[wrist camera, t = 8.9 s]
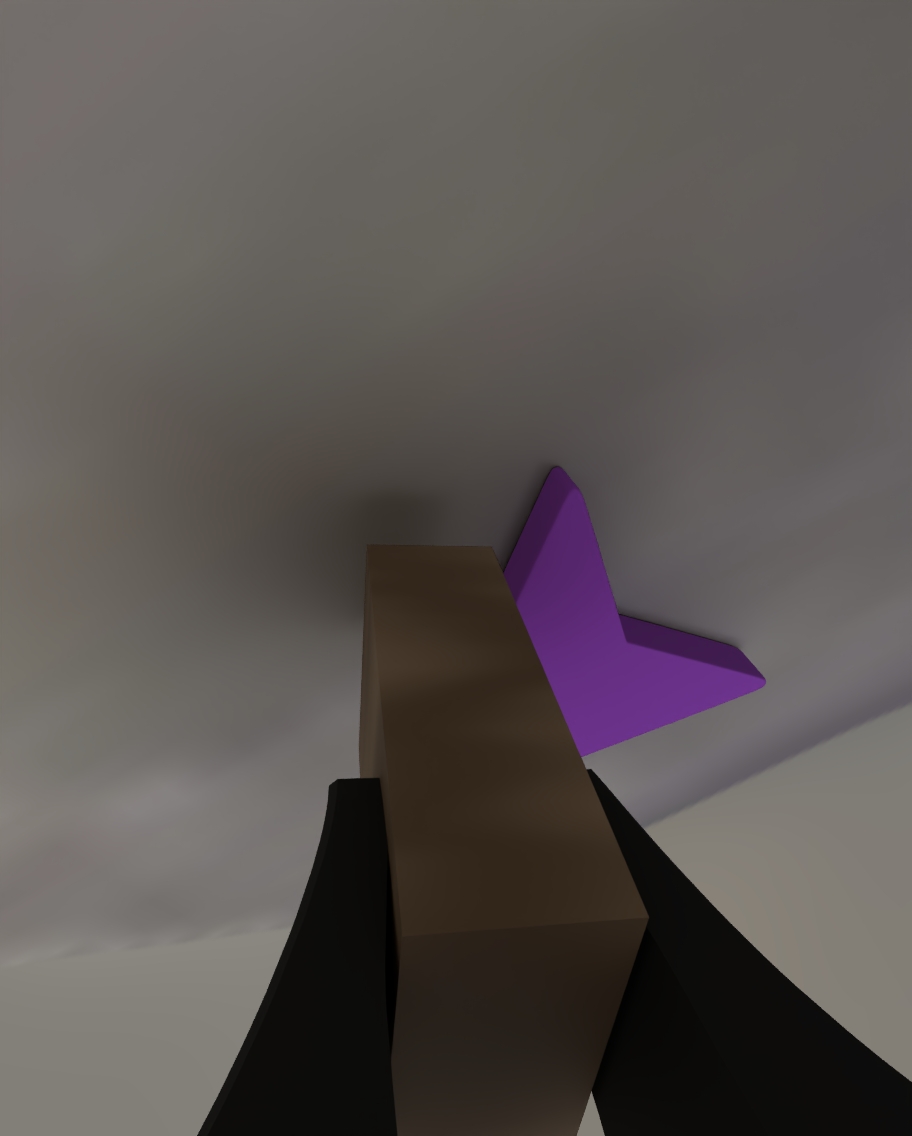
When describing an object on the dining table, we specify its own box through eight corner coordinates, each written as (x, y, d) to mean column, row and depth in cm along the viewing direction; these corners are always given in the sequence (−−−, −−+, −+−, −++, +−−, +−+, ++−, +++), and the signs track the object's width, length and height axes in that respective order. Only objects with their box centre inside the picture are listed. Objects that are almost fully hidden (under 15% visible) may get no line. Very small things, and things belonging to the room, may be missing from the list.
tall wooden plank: (492, 546, 14) (648, 917, 7) (466, 744, 16) (564, 1169, 9) (366, 544, 14) (402, 936, 7) (358, 748, 16) (379, 1196, 9)
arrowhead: (824, 477, 18) (741, 781, 22) (787, 455, 19) (717, 745, 24) (414, 496, 16) (419, 816, 21) (408, 471, 18) (414, 776, 22)
